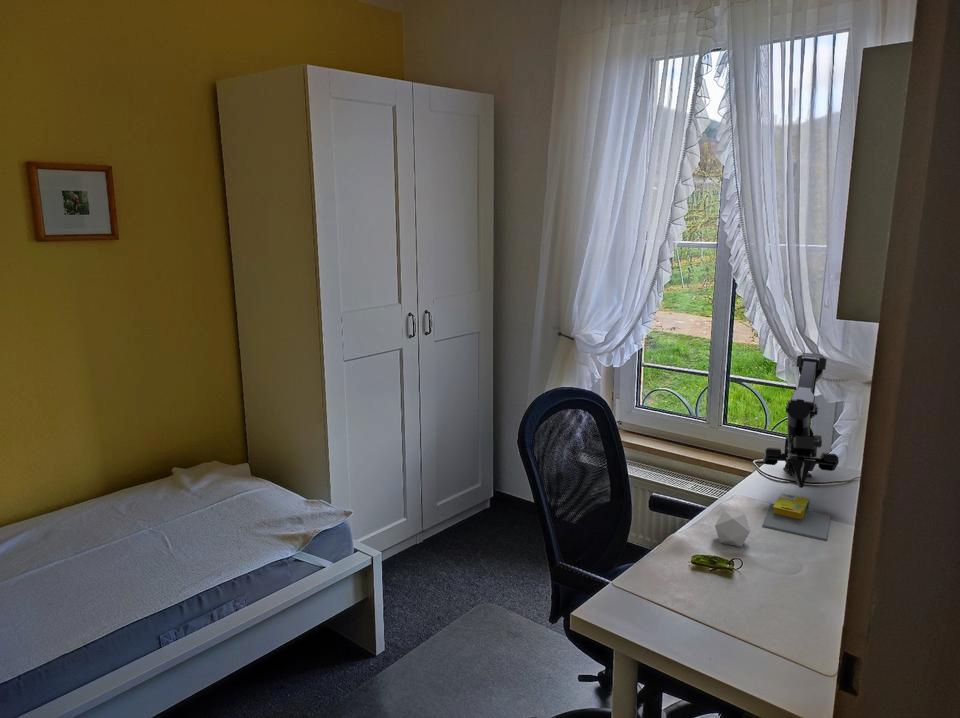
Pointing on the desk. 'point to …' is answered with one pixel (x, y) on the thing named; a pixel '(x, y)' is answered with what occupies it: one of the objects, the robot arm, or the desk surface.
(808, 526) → the desk pad
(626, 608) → the desk surface
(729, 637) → the desk surface
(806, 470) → the robot arm
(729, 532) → the die
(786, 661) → the desk surface
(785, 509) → the crayon box
